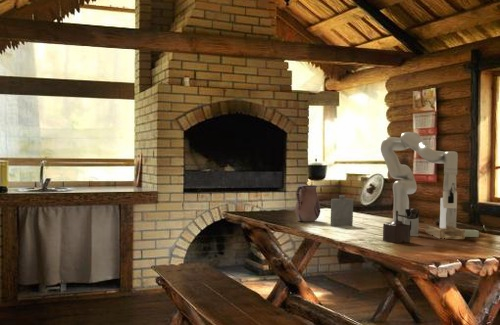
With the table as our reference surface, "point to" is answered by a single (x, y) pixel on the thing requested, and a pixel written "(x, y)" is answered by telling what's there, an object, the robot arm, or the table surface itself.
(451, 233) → the offcut walnut
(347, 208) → the hip flask
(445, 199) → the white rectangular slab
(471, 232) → the holder
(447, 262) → the table surface
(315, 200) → the ceramic pitcher
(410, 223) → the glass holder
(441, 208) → the packaging
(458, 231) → the rack
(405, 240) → the dark brown coffee grinder
